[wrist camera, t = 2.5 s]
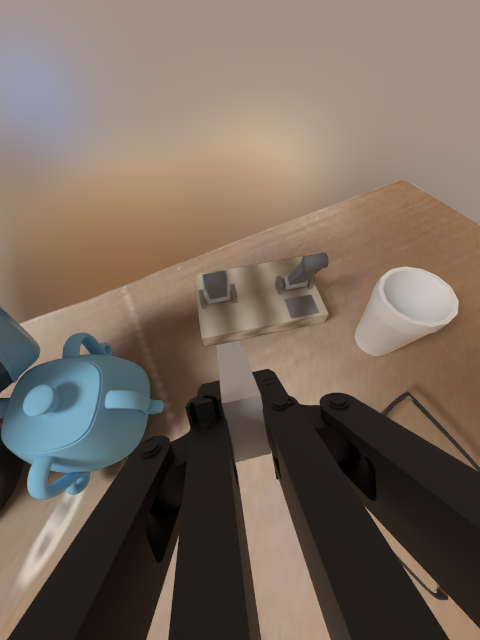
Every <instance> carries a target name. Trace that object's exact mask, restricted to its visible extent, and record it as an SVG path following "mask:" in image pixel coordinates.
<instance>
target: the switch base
mask: <svg viewBox="0 0 480 640" xmlns="http://www.w3.org/2000/svg"><path fill="white" fill-rule="evenodd" d="M301 261H302V256H301V257H295V258H290V259H284V260H278V261H272V262H267V263H261V264H255V265H250V266H244V267H238V268H233V269H227V270H225V273H226V278H227V287H228V288H229V293H230V299H231V300H228V301H223V302H217V303H212V304H208V302H207V297H206V289H205V285H204V280H203V274H199V275H193V277H194V285H195V292H196V300H197V307H198V315H199V322H200V330H201V337H202V341H203V343H204V346H208V345H213V344H218V343H223V342H228V341H233V340H238V339H243V338H248V337H253V336H259V335H264V334H269V333H274V332H279V331H284V330H289V329H294V328H299V327H304V326H309V325H314V324H319V323H324V322H325V320H326V318H327V316H328V314H329V313H328V311H327V309H326V307H325V305H324V303H323V301H322V298H321V296H320V294H319V292H318V290H317V288H316V285H315V278H314V276H312V277H311V278H310V279H309V280H308V285H307V286H304V287H298V288H293V289H288V290H284V283H283V280H282V277H284V276H289V275H290V274H291V273H292V271H293V270H294V269H295V268H296V267H297V266H298V265H299V263H300V262H301ZM221 271H224V270H221ZM216 272H219V271H216ZM210 273H213V272H210ZM204 274H207V273H204Z"/></svg>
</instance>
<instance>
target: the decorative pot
mask: <svg viewBox="0 0 480 640" xmlns="http://www.w3.org/2000/svg"><path fill="white" fill-rule="evenodd" d="M81 343H82V344H83V345H84V346H85V347H86V349H87V350H88V351H89V352H90V354H88V355H79V351H80V345H81ZM112 355H113V350H112V347H111V345H109V344H107V343H100V344H99V343H98V342H97V340H96V339H95V338H94V337H93V336H91V335H90V334H87V333H77V334H74V335H72V336H71V337H69V338H68V340H67V341H66V343H65V345H64V348H63V358H62V359H57V360H53V361H49V362H46V363H43V364H40V365H38V366H35V367H33V368H32V369H30V370H28V371H27V372H26V373H25V374H24V375H23V376H22V377H21V378H20V379H19V381H18V382H17V384H16V386H15V388H14V390H13V392H12V395H11V397H10V398H0V419H3V422H2V427H1V438H2V441H3V443H4V444H5V445H6V447H7V448H8V449H9V450H10V451H12V452H13V453H14V454H15V455H17V456H18V457H19V458H21V459H23V460H24V461H26V462H28V463H30V464H32V466H31V468H30V471H29V475H28V480H27V487H28V492H29V493H30V495H31V496H32V497H34V498H36V499H49V498H52V497H55V496H57V495H58V494H60V493H62V492H63V491H64V490H66V492H67V493H68V494H71V495H75V494H78V493H80V492H82V491H83V490H84V489H85V487H86V486H87V484H88V482H89V479H90V471H94V470H99V469H102V468H105V467H108V466H110V465H112V464H115V463H117V462H119V461H120V460H122V459H124V458H125V457H127V456H128V455H129V454H130V453H132V452H133V450H134V449H135V448H136V447H137V446H138V444H139V443H140V441H141V439H142V437H143V435H144V432H145V429H146V425H147V421H148V416H149V414H158V413H161V412H162V411H163V409H164V402H163V400H152V399H150V383H149V379H148V376H147V374H146V372H145V371H144V370H143V368H142V367H140V366H139V365H137V364H136V363H134V362H131V361H129V360H126V359H123V358H119V357H114V356H112ZM50 471H56V472H63V473H67V474H65V475H64V476H63V477H61V478H60V479H58V480H57V481H56V482H54V483H53V484H51V485H50V486H48V476H49V472H50Z"/></svg>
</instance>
